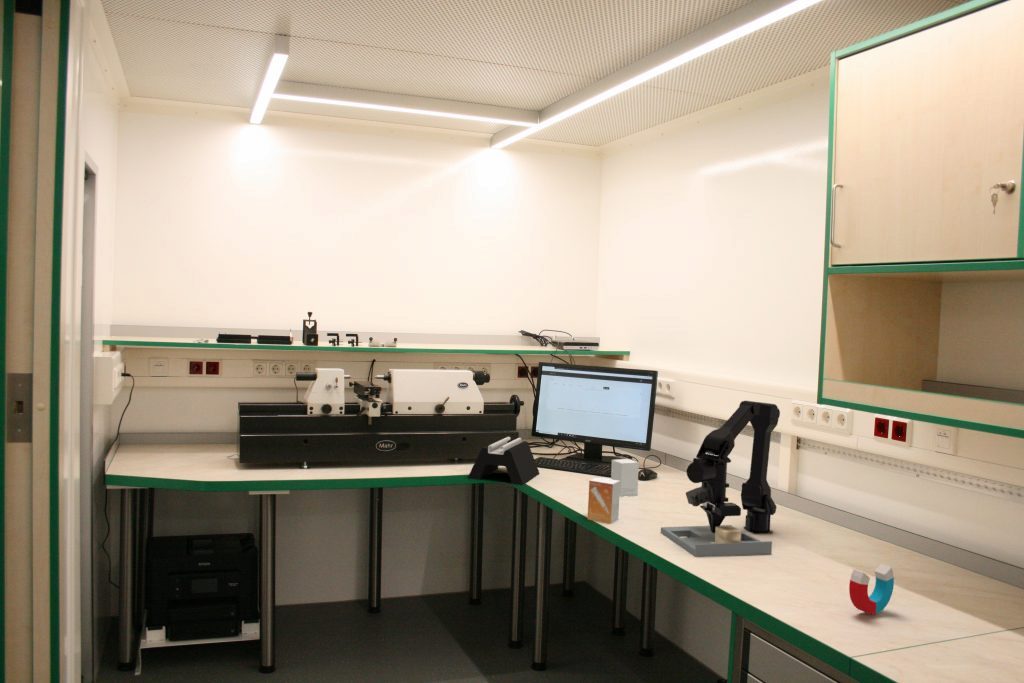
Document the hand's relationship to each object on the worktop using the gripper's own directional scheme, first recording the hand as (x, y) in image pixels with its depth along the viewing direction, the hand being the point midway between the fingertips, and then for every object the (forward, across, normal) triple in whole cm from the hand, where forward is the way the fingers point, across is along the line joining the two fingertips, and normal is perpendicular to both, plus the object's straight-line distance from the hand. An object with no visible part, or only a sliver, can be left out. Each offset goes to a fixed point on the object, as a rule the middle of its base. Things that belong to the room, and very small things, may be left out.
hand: (713, 532), depth 218 cm
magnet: (+3, +53, +9) cm, 54 cm away
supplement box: (+3, -57, -4) cm, 58 cm away
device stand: (+4, -87, -41) cm, 96 cm away
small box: (+3, -26, -24) cm, 35 cm away
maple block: (+1, +8, 0) cm, 9 cm away
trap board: (+3, +1, 0) cm, 3 cm away
